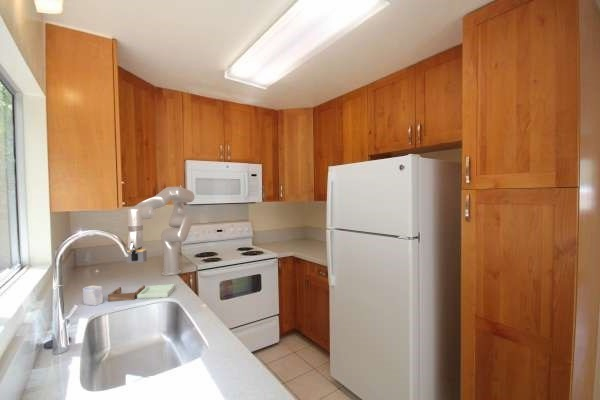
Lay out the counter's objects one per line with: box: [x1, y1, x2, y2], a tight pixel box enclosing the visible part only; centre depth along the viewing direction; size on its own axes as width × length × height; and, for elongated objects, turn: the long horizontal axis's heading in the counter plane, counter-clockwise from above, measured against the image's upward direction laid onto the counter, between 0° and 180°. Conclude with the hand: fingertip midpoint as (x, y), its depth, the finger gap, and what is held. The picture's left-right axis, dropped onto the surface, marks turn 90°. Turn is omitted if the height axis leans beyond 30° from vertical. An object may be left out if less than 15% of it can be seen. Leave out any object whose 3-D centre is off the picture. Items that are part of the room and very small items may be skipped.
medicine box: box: [82, 285, 104, 307], centre depth 139 cm, size 8×4×9 cm, turn 74°
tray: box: [136, 283, 176, 300], centre depth 152 cm, size 14×15×2 cm
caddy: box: [126, 248, 148, 264], centre depth 161 cm, size 5×9×7 cm, turn 99°
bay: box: [107, 284, 146, 302], centre depth 149 cm, size 12×13×4 cm
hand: (136, 259), depth 161 cm, fingers closed on caddy, 5 cm apart
